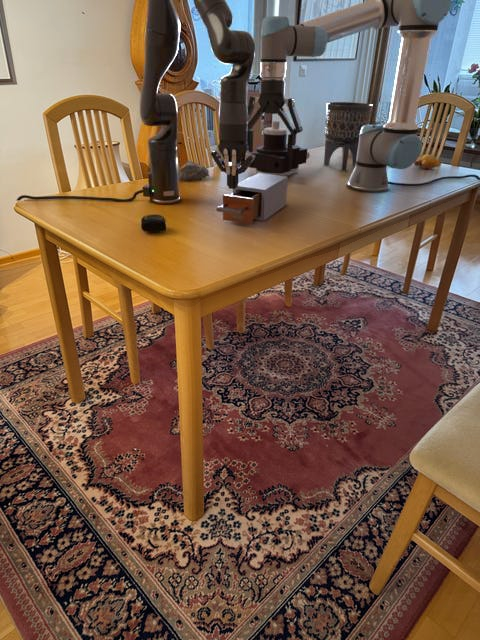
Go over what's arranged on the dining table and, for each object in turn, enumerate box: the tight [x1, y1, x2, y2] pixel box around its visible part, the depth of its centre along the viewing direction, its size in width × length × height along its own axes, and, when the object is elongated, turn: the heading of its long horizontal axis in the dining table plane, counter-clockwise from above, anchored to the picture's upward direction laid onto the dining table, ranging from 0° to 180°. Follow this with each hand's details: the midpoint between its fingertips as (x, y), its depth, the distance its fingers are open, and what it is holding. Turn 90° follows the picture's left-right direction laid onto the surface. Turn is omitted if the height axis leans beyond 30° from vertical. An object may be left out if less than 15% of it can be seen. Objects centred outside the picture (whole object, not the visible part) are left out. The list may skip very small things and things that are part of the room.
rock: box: [178, 160, 210, 182], centre depth 182 cm, size 13×9×6 cm, turn 131°
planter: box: [323, 101, 374, 172], centre depth 204 cm, size 20×20×26 cm
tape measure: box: [140, 213, 167, 233], centre depth 128 cm, size 7×7×4 cm
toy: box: [413, 154, 442, 170], centre depth 212 cm, size 11×6×15 cm
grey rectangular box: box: [232, 173, 289, 222], centre depth 146 cm, size 20×11×10 cm, turn 154°
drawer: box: [216, 190, 262, 225], centre depth 138 cm, size 24×9×8 cm, turn 154°
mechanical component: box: [240, 120, 311, 177], centre depth 191 cm, size 22×21×30 cm
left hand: (232, 188), depth 127 cm, fingers closed
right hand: (269, 154), depth 145 cm, fingers open, 13 cm apart
